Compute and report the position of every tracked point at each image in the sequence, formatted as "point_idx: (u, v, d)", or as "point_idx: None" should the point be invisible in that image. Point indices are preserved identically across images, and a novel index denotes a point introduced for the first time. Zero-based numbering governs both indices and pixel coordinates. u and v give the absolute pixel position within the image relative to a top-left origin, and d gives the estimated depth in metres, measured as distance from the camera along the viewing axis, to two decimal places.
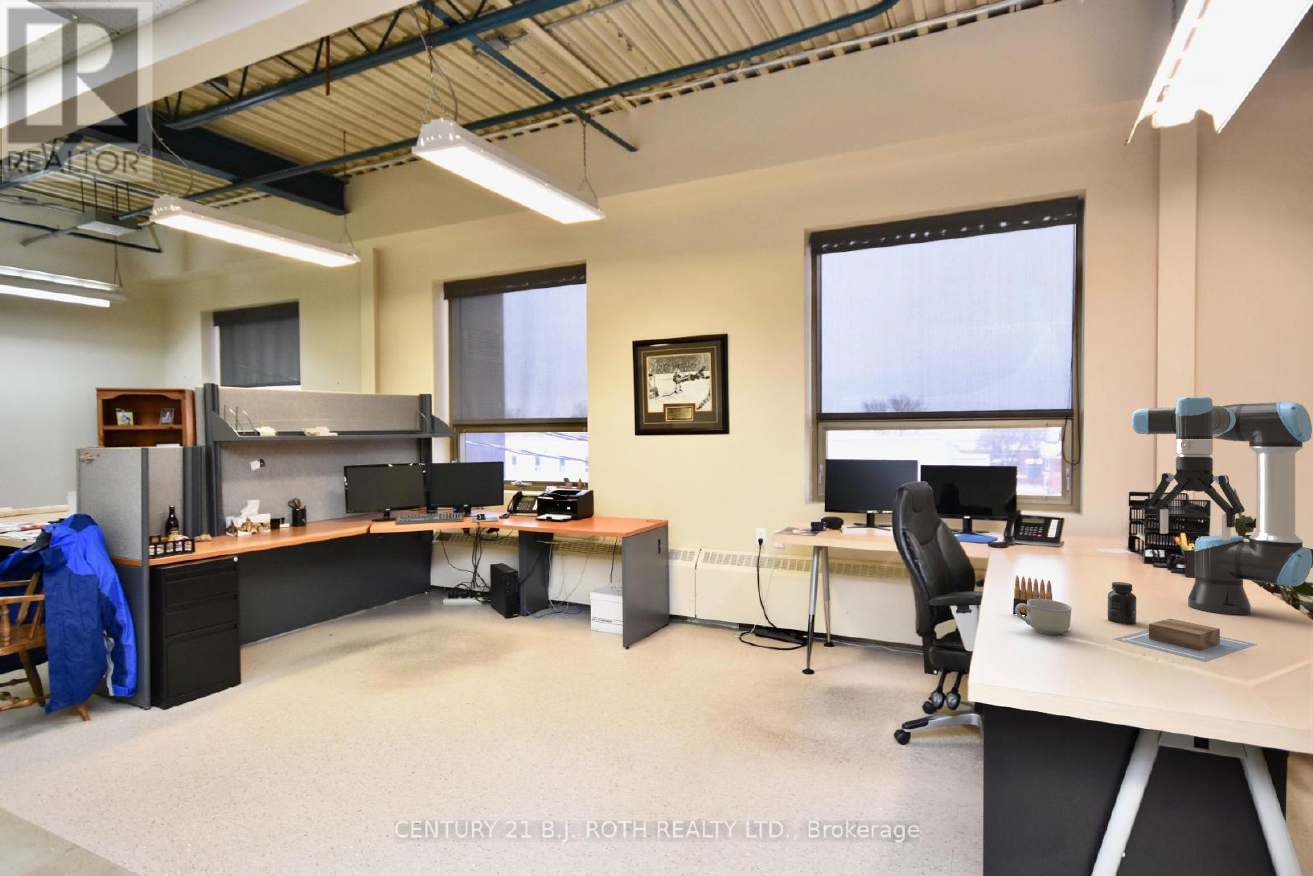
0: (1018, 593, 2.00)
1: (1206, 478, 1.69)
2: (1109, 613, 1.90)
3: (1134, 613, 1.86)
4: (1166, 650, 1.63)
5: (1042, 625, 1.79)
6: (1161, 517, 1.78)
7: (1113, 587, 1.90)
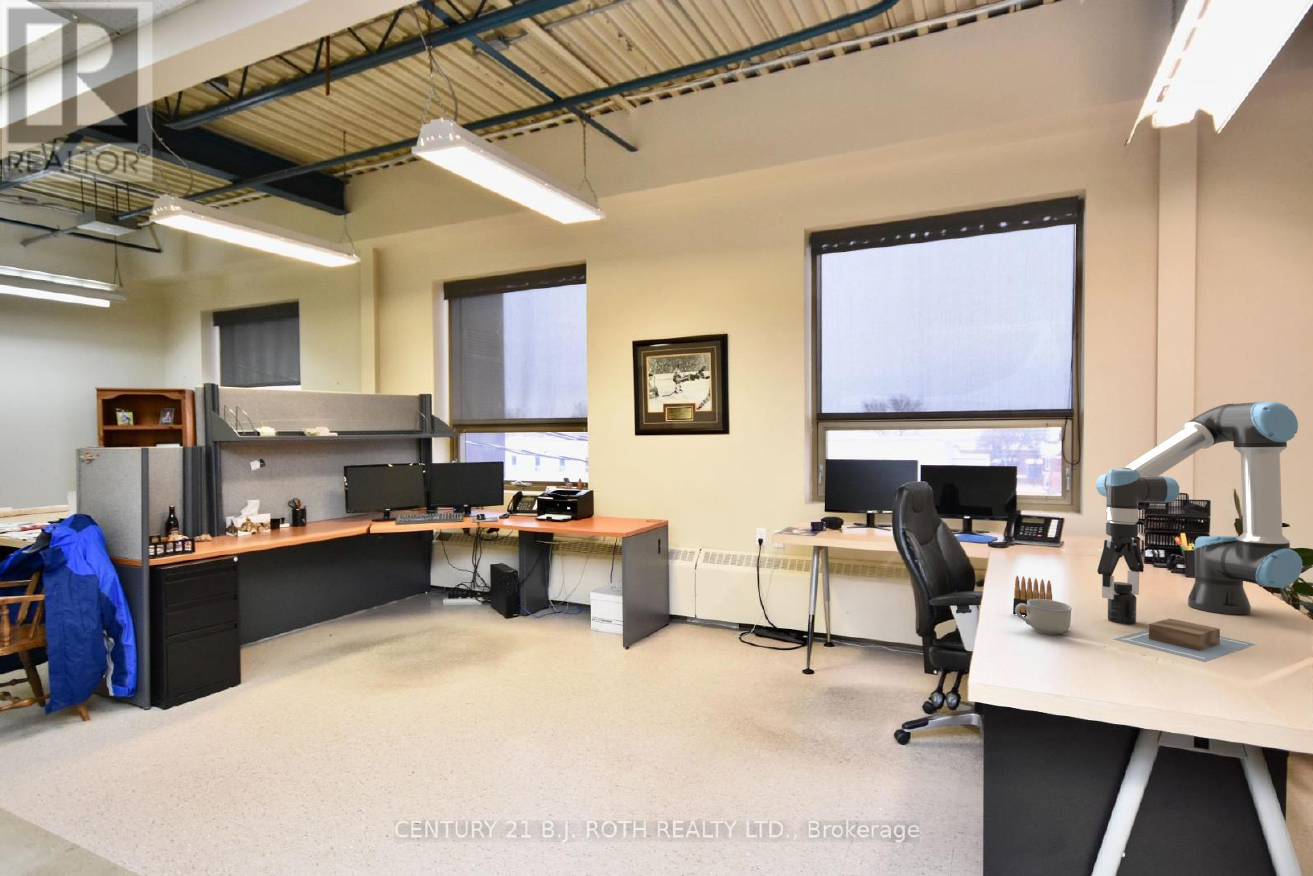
0: (1018, 593, 2.00)
1: None
2: (1109, 613, 1.90)
3: (1134, 613, 1.86)
4: (1166, 650, 1.63)
5: (1042, 625, 1.79)
6: None
7: None
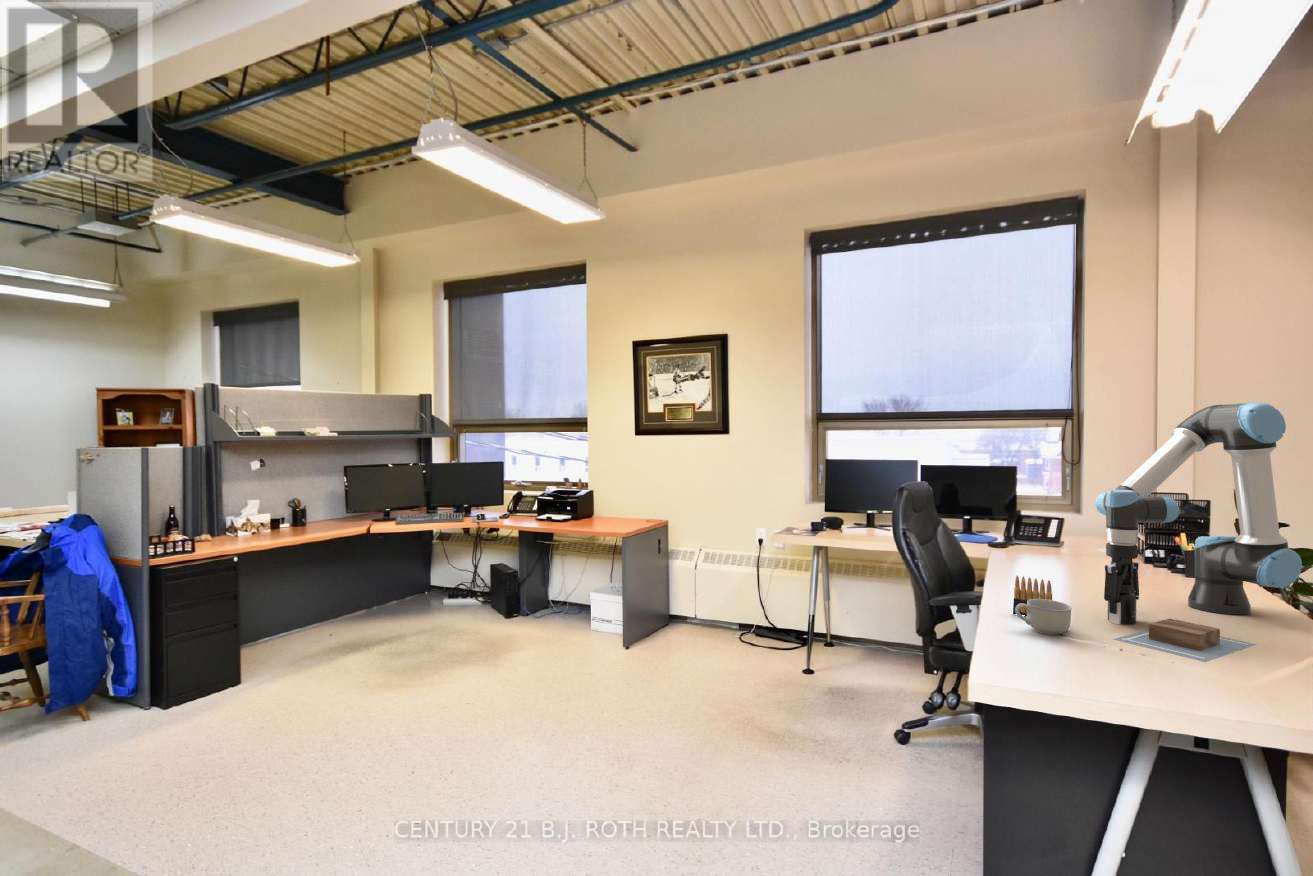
0: (1018, 593, 2.00)
1: None
2: None
3: (1134, 613, 1.86)
4: (1166, 650, 1.63)
5: (1042, 625, 1.79)
6: None
7: None
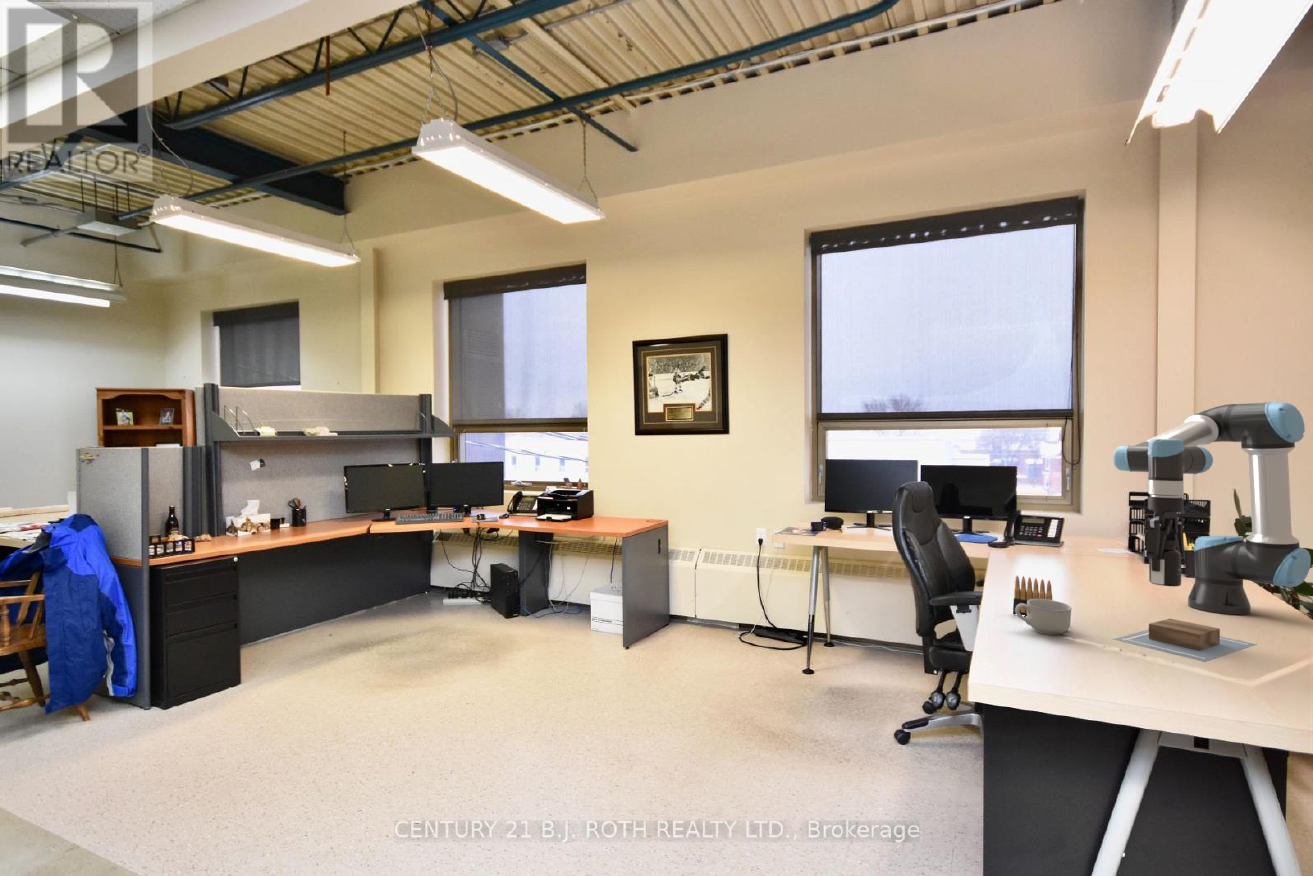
0: (1018, 593, 2.00)
1: None
2: None
3: (1179, 571, 1.72)
4: (1166, 650, 1.63)
5: (1042, 625, 1.79)
6: None
7: None
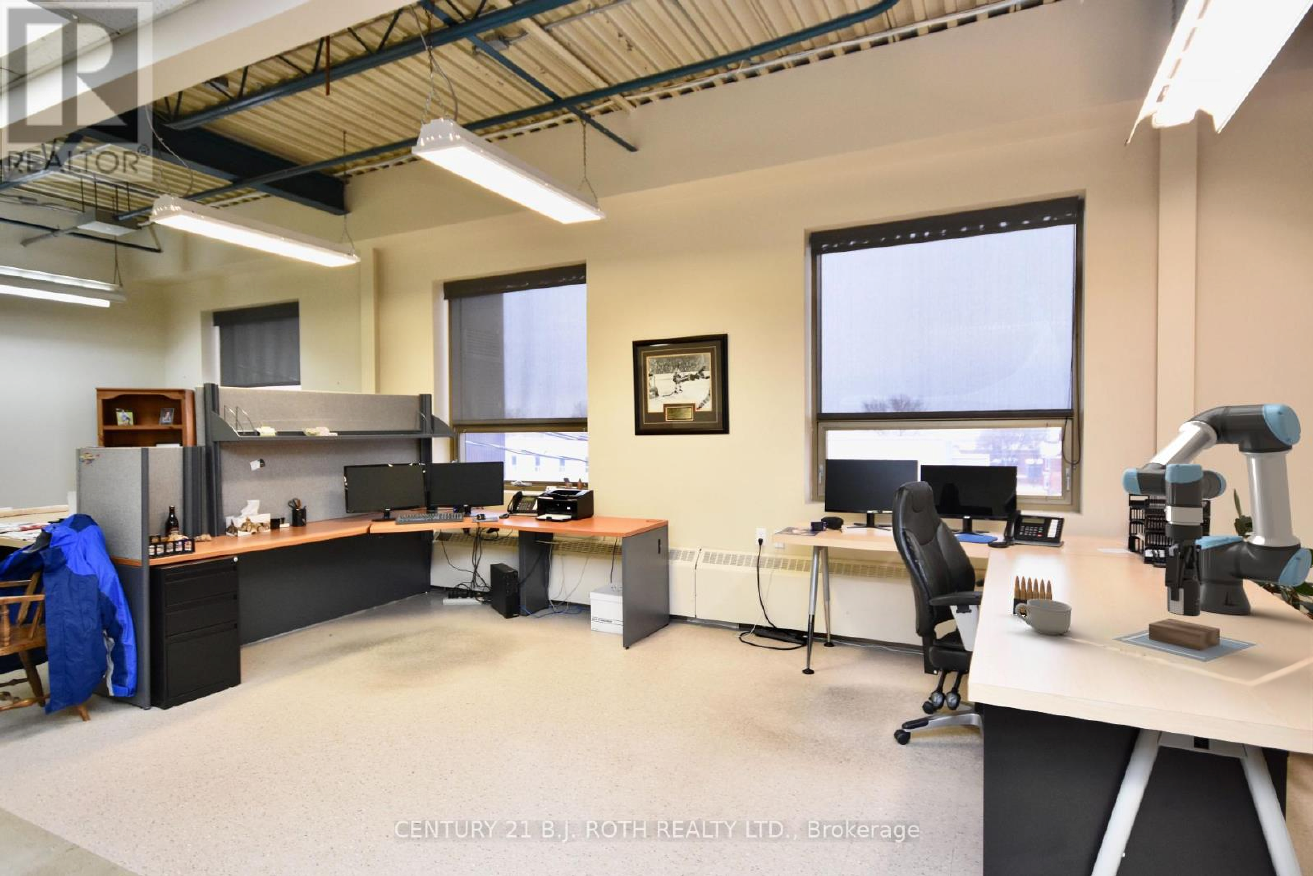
0: (1018, 593, 2.00)
1: None
2: (1169, 600, 1.71)
3: (1198, 600, 1.67)
4: (1166, 650, 1.63)
5: (1042, 625, 1.79)
6: None
7: None
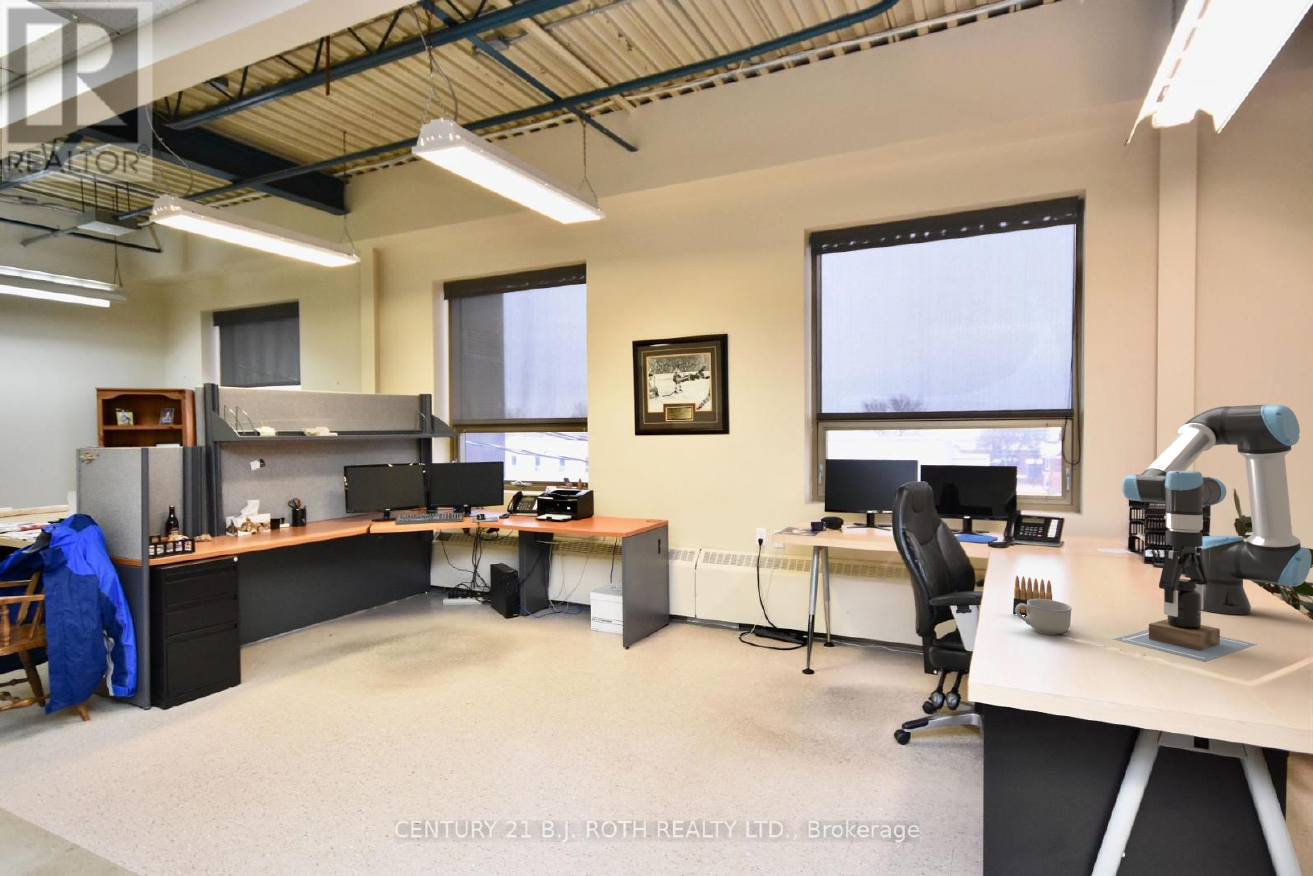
0: (1018, 593, 2.00)
1: None
2: None
3: (1199, 613, 1.67)
4: (1166, 650, 1.63)
5: (1042, 625, 1.79)
6: None
7: None
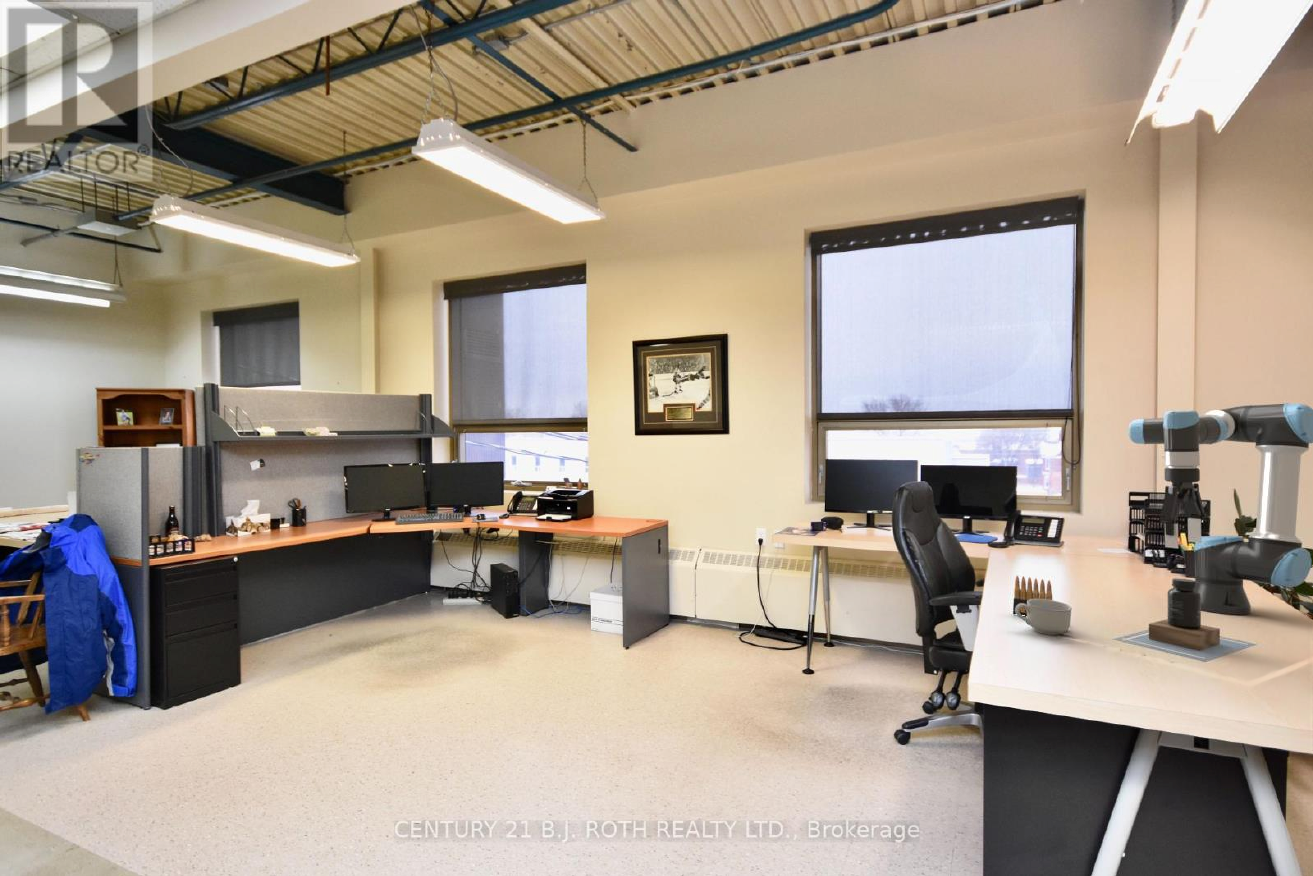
0: (1018, 593, 2.00)
1: None
2: (1170, 613, 1.71)
3: (1199, 613, 1.67)
4: (1166, 650, 1.63)
5: (1042, 625, 1.79)
6: None
7: (1174, 584, 1.71)
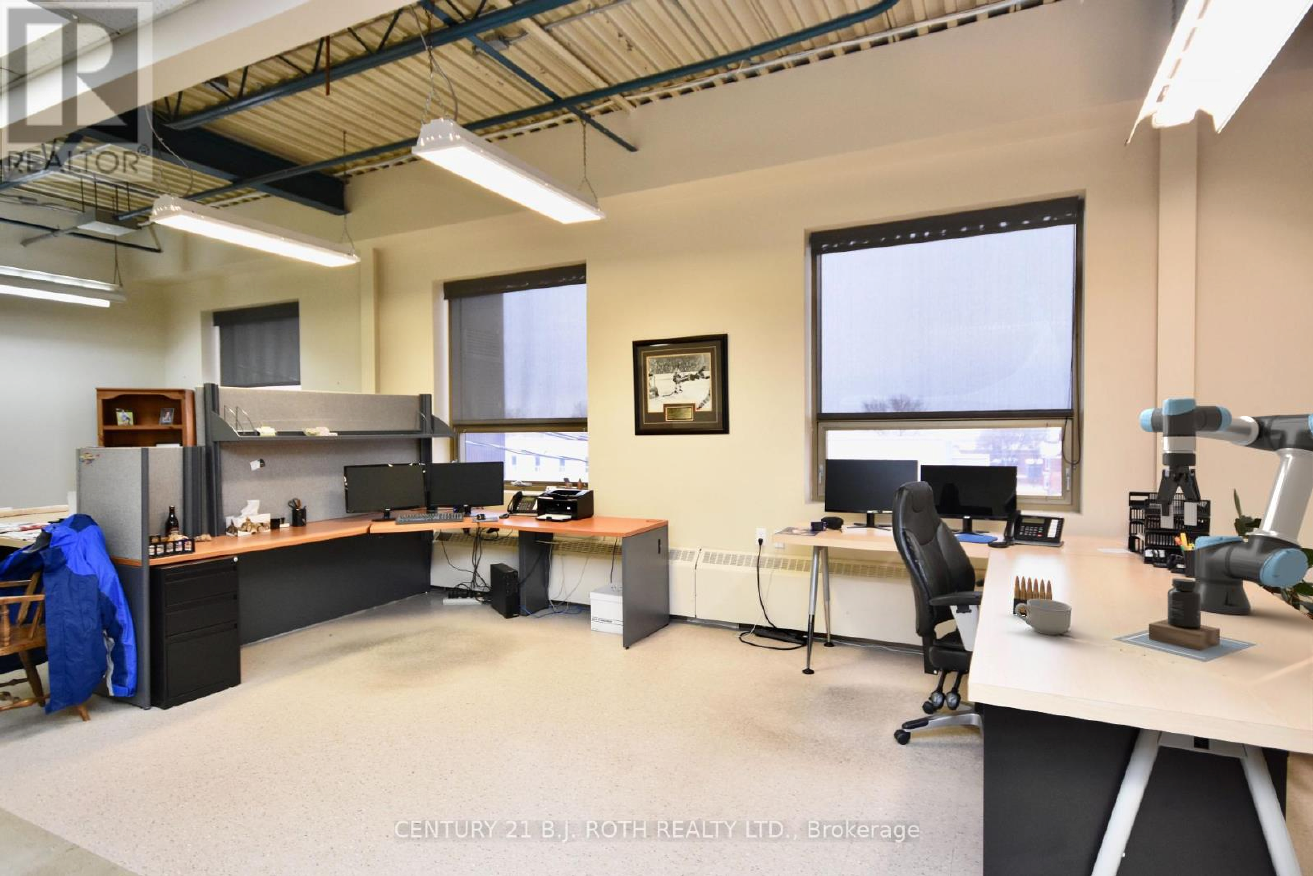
0: (1018, 593, 2.00)
1: None
2: (1170, 613, 1.71)
3: (1199, 613, 1.67)
4: (1166, 650, 1.63)
5: (1042, 625, 1.79)
6: None
7: (1174, 584, 1.71)
